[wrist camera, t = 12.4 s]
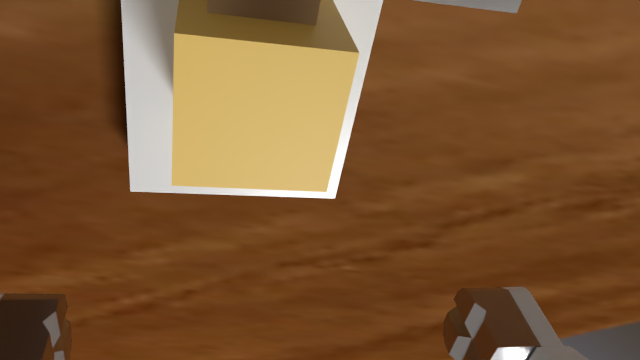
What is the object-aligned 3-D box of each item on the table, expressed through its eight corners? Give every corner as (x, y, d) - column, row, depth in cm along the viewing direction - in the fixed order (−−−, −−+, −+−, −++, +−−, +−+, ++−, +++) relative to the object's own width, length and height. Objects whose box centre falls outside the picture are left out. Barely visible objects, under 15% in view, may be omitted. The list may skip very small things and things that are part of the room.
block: (329, -8, 19) (359, 52, 15) (306, 114, 22) (326, 191, 18) (183, -27, 18) (173, 33, 14) (179, 105, 20) (171, 185, 17)
